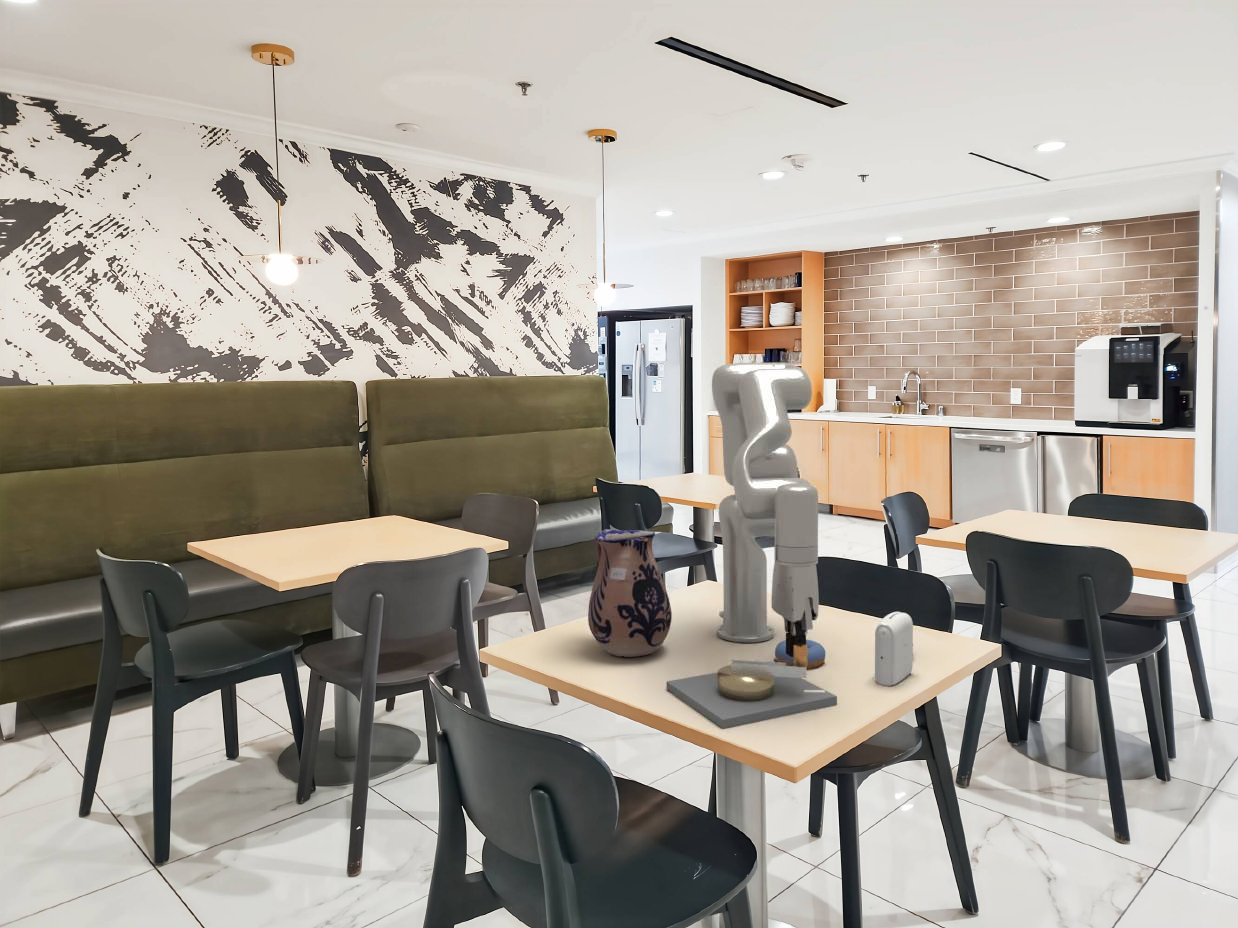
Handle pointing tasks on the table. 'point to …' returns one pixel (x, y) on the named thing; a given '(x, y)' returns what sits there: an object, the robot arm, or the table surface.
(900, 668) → the photo printer
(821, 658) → the doughnut
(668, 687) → the stand
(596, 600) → the ceramic pitcher
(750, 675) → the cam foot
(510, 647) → the table surface
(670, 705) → the table surface
